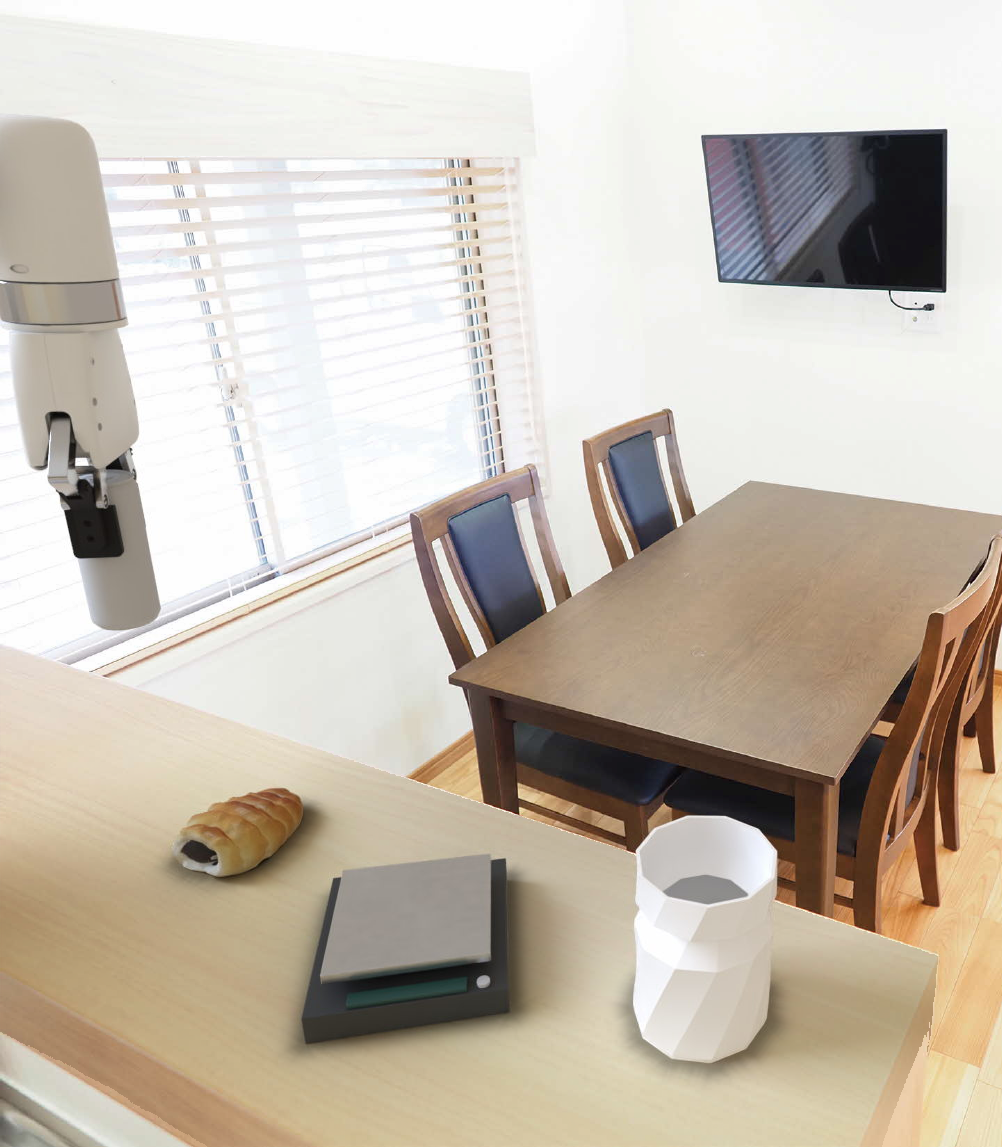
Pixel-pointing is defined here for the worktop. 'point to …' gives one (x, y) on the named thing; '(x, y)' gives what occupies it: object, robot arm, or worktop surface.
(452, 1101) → the worktop surface
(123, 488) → the beverage can
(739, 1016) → the vase
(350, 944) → the scale pan
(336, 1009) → the scale
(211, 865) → the pastry
